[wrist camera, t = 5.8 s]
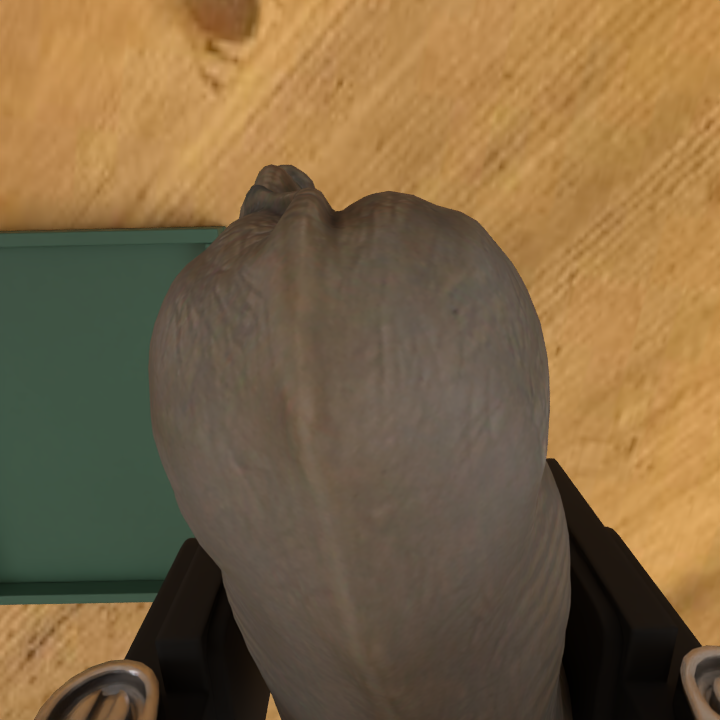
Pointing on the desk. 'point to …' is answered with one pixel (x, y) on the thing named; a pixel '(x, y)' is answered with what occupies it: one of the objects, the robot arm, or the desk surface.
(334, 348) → the rhino figurine
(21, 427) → the green tray
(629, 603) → the robot arm
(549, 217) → the desk surface
